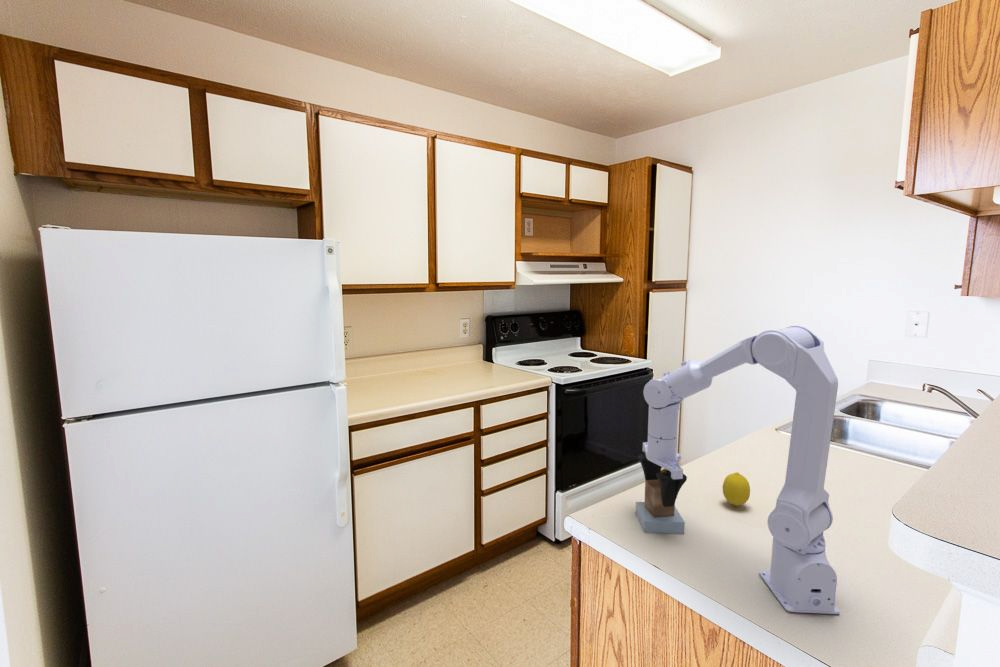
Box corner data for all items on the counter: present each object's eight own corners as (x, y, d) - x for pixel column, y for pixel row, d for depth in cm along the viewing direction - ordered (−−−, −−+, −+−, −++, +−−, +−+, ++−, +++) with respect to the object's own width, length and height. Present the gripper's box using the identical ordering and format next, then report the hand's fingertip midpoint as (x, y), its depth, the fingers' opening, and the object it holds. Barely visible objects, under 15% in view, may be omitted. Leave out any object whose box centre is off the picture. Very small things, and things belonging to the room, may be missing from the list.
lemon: (752, 513, 101) (754, 479, 100) (725, 511, 103) (727, 477, 102) (744, 501, 107) (746, 468, 106) (718, 499, 108) (720, 466, 107)
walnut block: (674, 515, 96) (675, 488, 95) (653, 517, 96) (654, 490, 95) (664, 505, 100) (665, 479, 100) (644, 506, 100) (645, 480, 99)
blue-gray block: (684, 536, 94) (684, 522, 94) (644, 535, 95) (644, 521, 94) (672, 515, 102) (672, 502, 102) (635, 514, 103) (635, 501, 102)
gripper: (699, 447, 89) (695, 513, 91) (664, 422, 103) (662, 480, 105) (664, 448, 88) (661, 515, 90) (634, 424, 102) (632, 481, 104)
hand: (659, 496), depth 97 cm, fingers open, 7 cm apart
